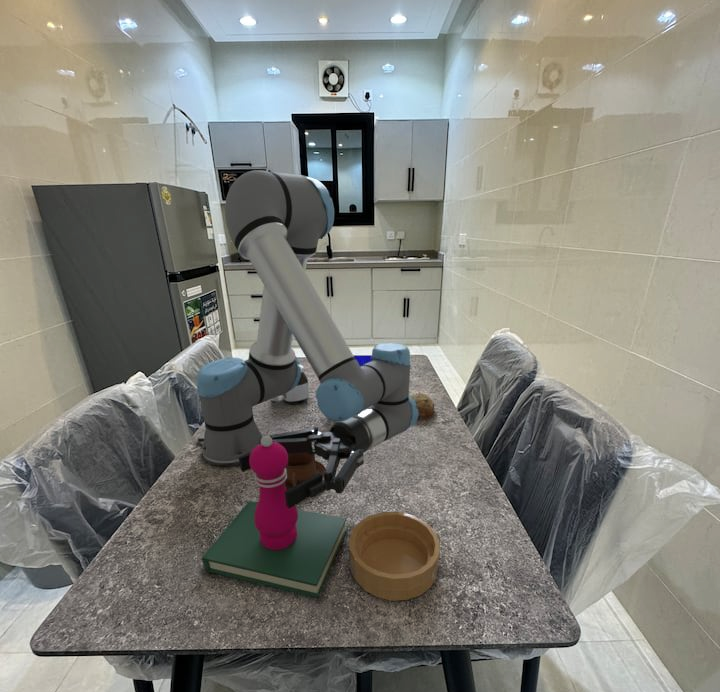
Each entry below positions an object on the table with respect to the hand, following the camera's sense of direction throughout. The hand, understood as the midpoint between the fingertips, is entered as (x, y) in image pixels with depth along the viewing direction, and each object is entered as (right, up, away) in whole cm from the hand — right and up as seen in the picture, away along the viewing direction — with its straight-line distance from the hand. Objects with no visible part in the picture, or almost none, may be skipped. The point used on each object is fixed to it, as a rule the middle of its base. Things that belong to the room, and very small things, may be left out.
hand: (261, 481), depth 61 cm
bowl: (+21, -15, +4) cm, 26 cm away
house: (+15, +18, +79) cm, 82 cm away
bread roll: (+34, +9, +58) cm, 67 cm away
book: (+2, -14, +7) cm, 16 cm away
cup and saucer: (+2, -6, +26) cm, 27 cm away
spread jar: (-8, +13, +68) cm, 69 cm away
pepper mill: (+1, -11, +6) cm, 13 cm away
